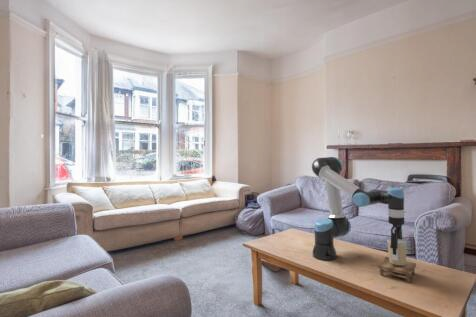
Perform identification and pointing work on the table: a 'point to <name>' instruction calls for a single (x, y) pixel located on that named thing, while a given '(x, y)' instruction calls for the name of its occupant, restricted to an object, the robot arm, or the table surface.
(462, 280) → the table surface
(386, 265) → the footstool
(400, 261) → the coffee cup
